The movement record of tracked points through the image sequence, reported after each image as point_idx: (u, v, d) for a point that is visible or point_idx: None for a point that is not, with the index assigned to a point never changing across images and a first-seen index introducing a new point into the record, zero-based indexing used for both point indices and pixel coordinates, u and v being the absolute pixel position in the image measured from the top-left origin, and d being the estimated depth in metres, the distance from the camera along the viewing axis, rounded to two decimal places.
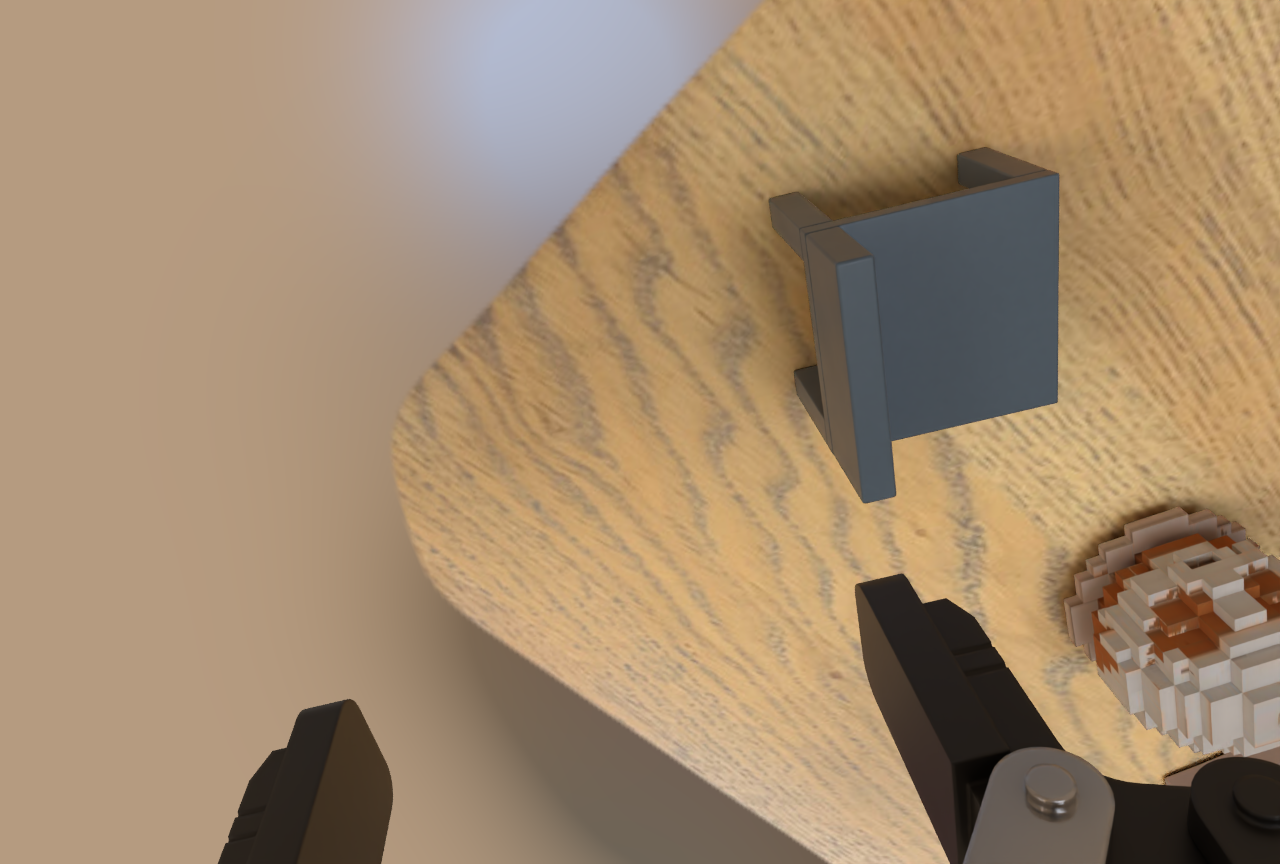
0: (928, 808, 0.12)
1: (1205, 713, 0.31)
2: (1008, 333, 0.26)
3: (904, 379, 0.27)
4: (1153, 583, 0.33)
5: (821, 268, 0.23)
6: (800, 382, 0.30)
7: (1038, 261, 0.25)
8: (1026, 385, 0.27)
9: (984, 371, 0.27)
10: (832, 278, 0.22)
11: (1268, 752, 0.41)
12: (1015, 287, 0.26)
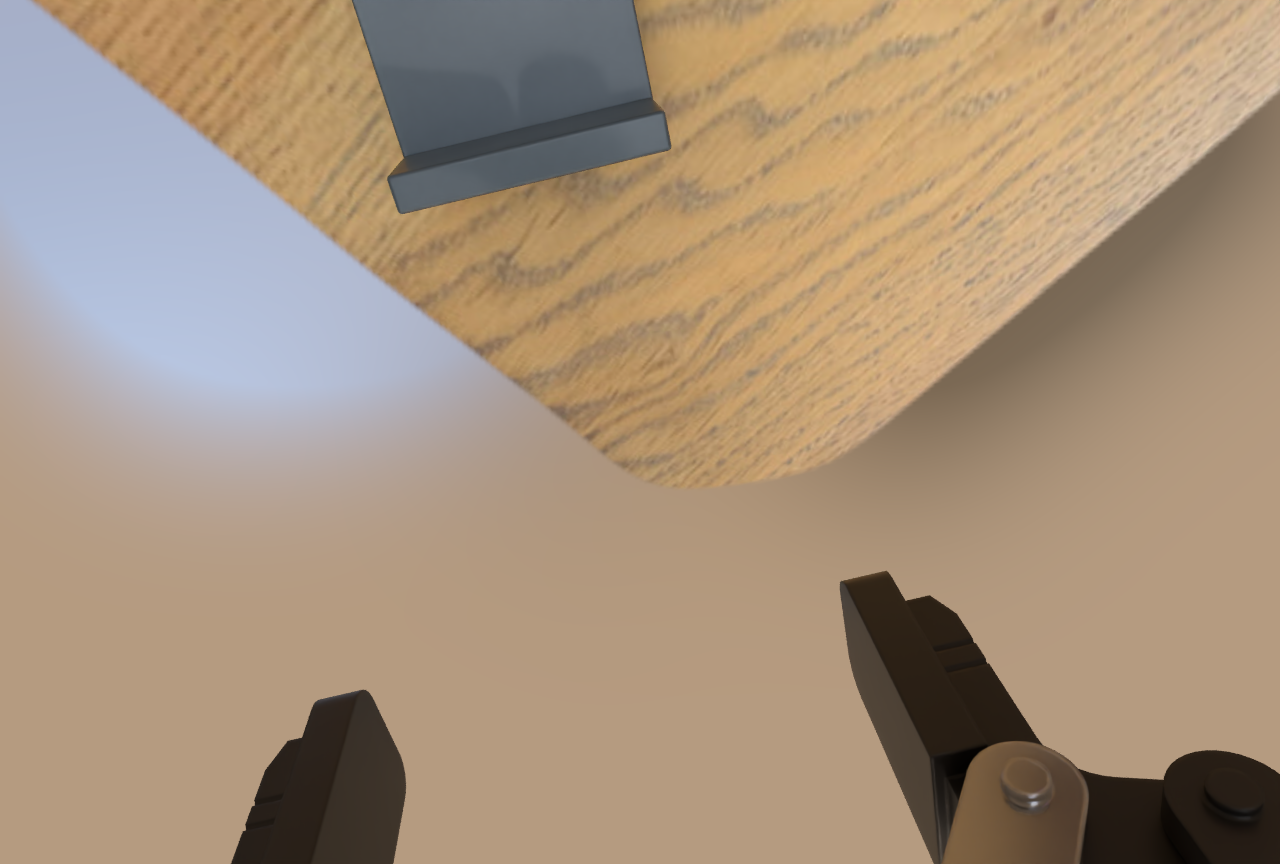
0: (910, 803, 0.12)
1: None
2: None
3: (568, 58, 0.24)
4: None
5: None
6: None
7: None
8: None
9: None
10: None
11: None
12: None
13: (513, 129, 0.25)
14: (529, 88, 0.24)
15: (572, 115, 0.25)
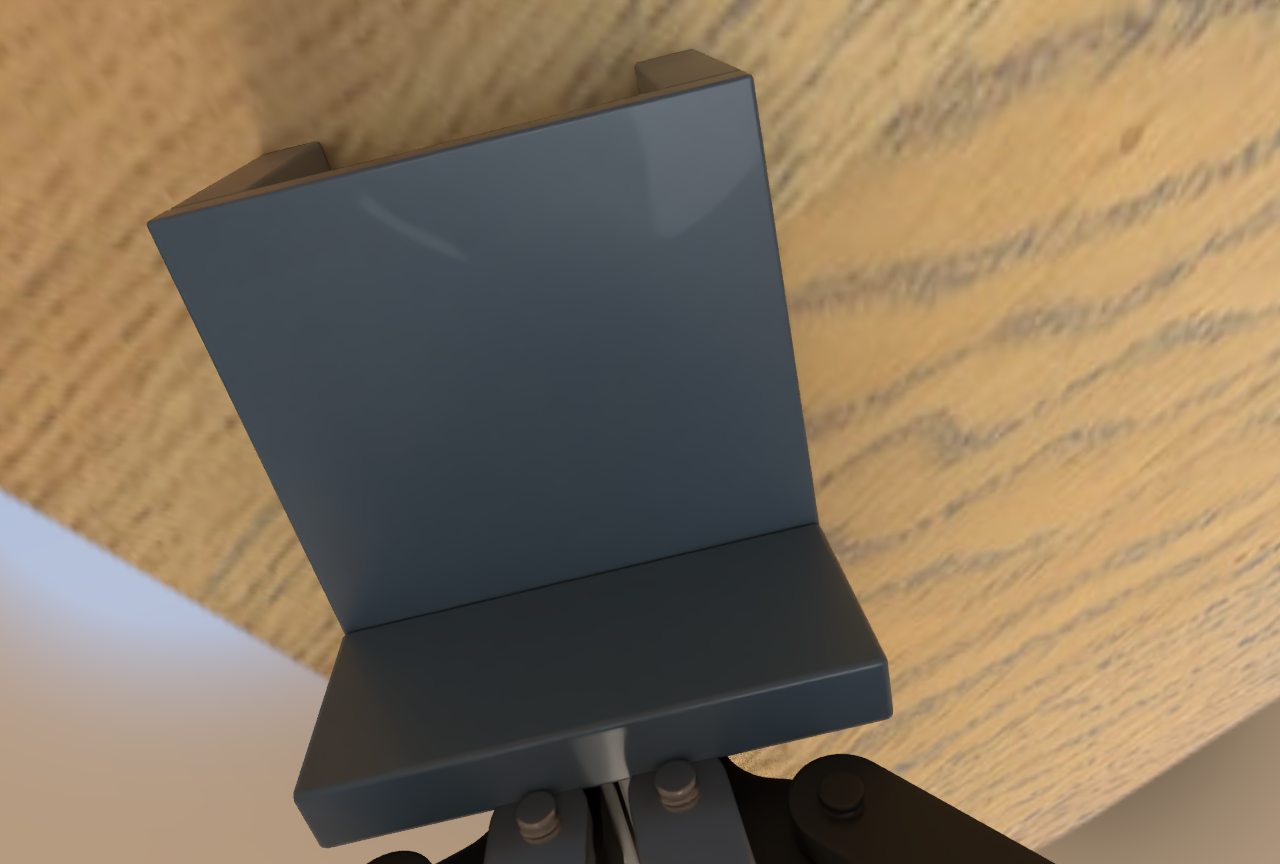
0: None
1: None
2: (552, 259, 0.11)
3: (663, 467, 0.12)
4: None
5: None
6: None
7: (364, 225, 0.10)
8: (694, 179, 0.10)
9: (650, 296, 0.11)
10: None
11: None
12: (435, 267, 0.11)
13: (552, 581, 0.13)
14: (584, 517, 0.12)
15: (665, 556, 0.13)
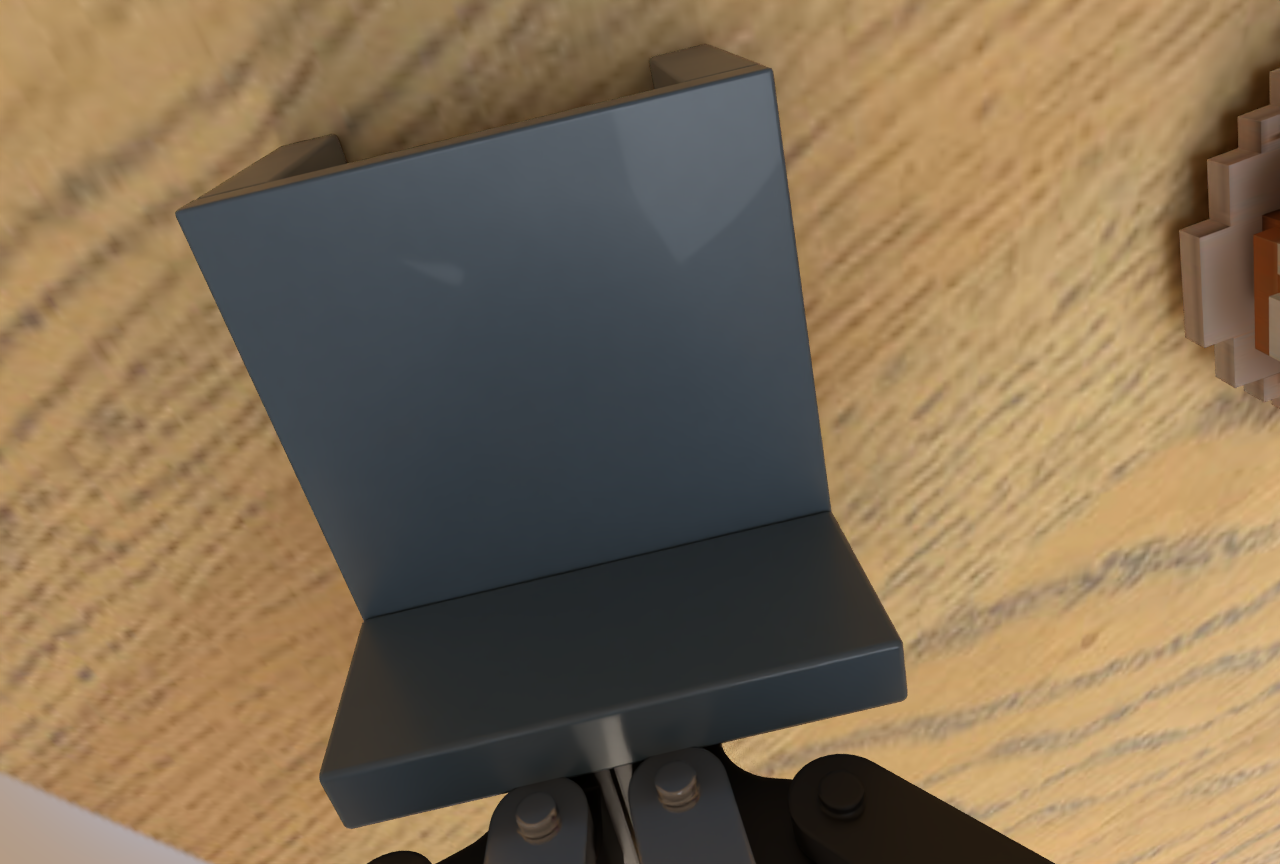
0: None
1: None
2: (573, 249, 0.11)
3: (679, 455, 0.12)
4: None
5: None
6: None
7: (389, 215, 0.11)
8: (714, 171, 0.11)
9: (668, 285, 0.11)
10: None
11: None
12: (457, 257, 0.11)
13: (568, 568, 0.13)
14: (601, 505, 0.13)
15: (680, 543, 0.13)
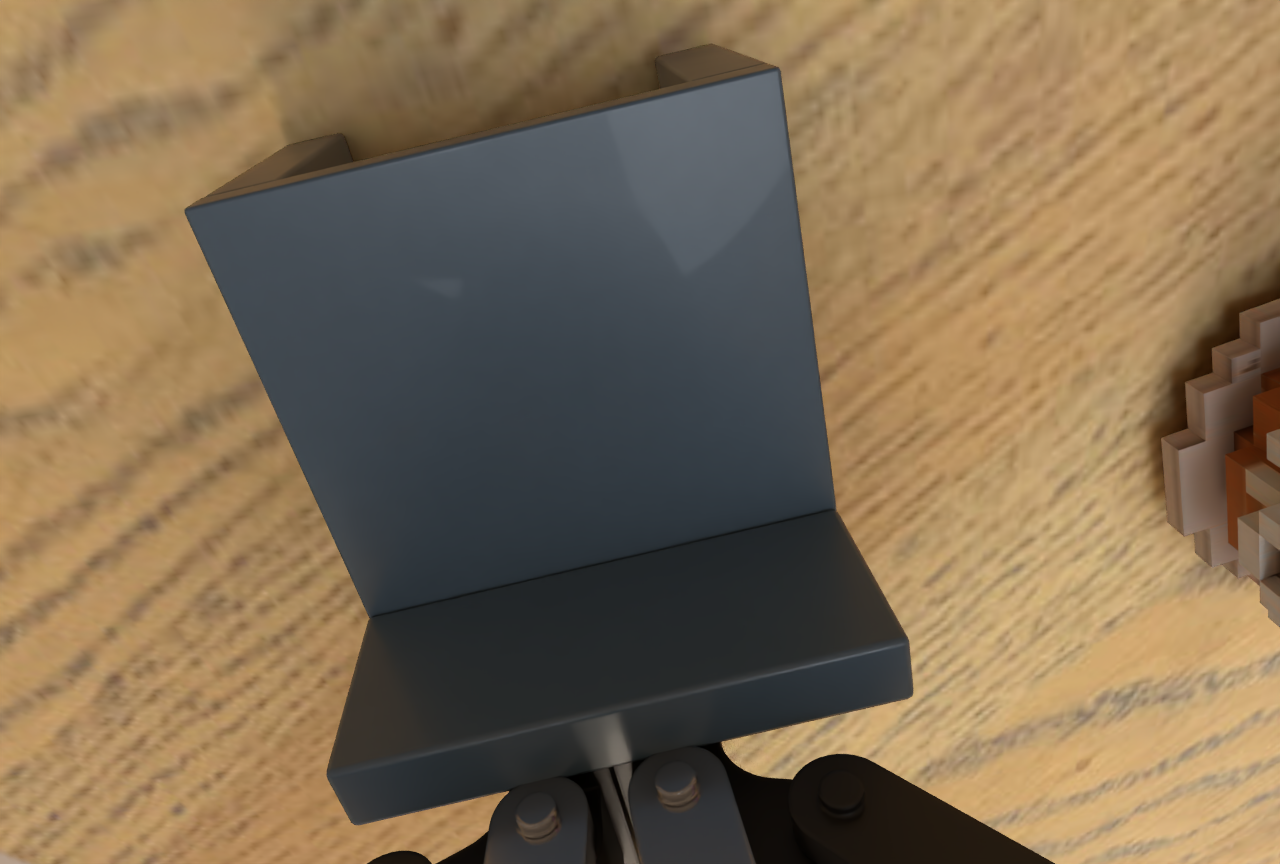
0: None
1: None
2: (581, 247, 0.11)
3: (686, 453, 0.12)
4: None
5: None
6: None
7: (398, 213, 0.11)
8: (721, 170, 0.11)
9: (675, 284, 0.11)
10: None
11: None
12: (465, 255, 0.11)
13: (574, 566, 0.13)
14: (607, 503, 0.13)
15: (686, 542, 0.13)
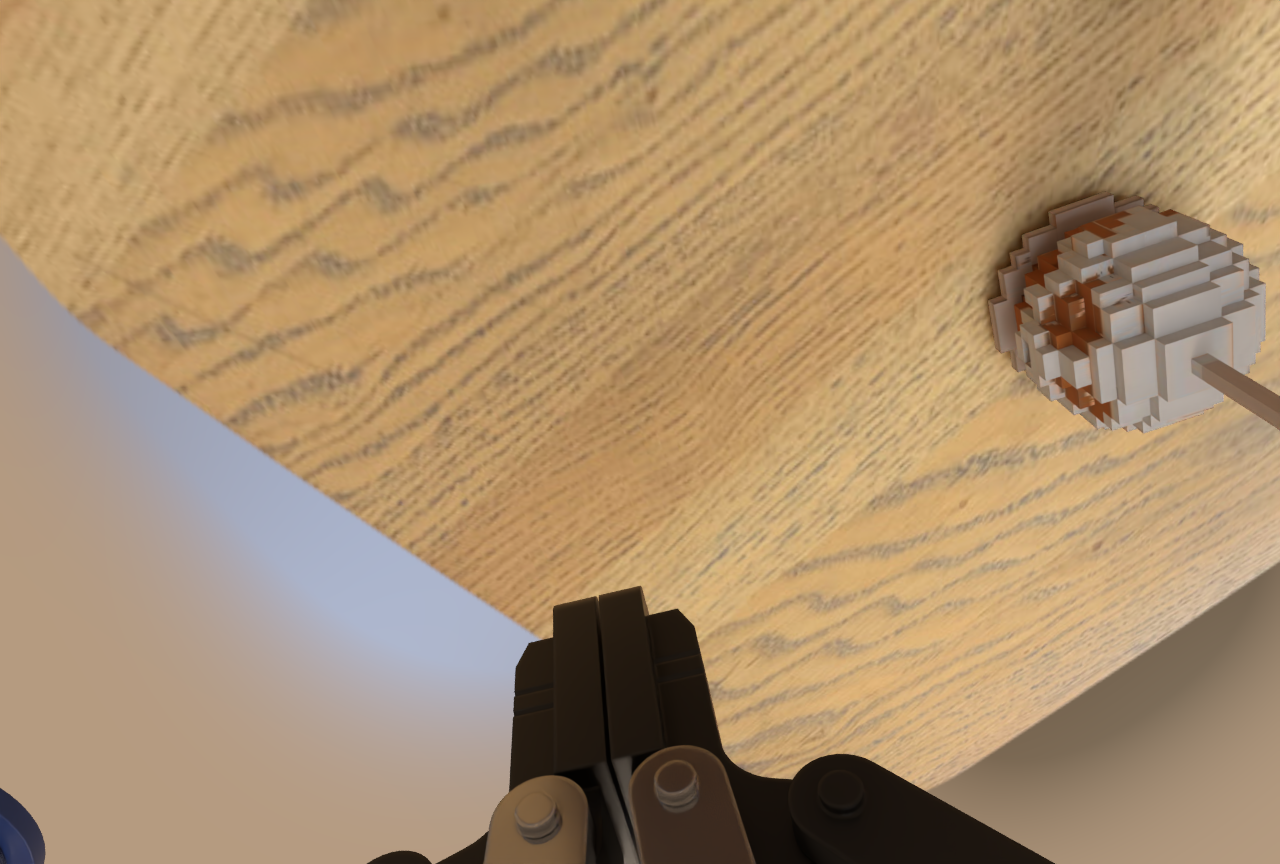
0: None
1: None
2: None
3: None
4: None
5: None
6: None
7: None
8: None
9: None
10: None
11: None
12: None
13: None
14: None
15: None
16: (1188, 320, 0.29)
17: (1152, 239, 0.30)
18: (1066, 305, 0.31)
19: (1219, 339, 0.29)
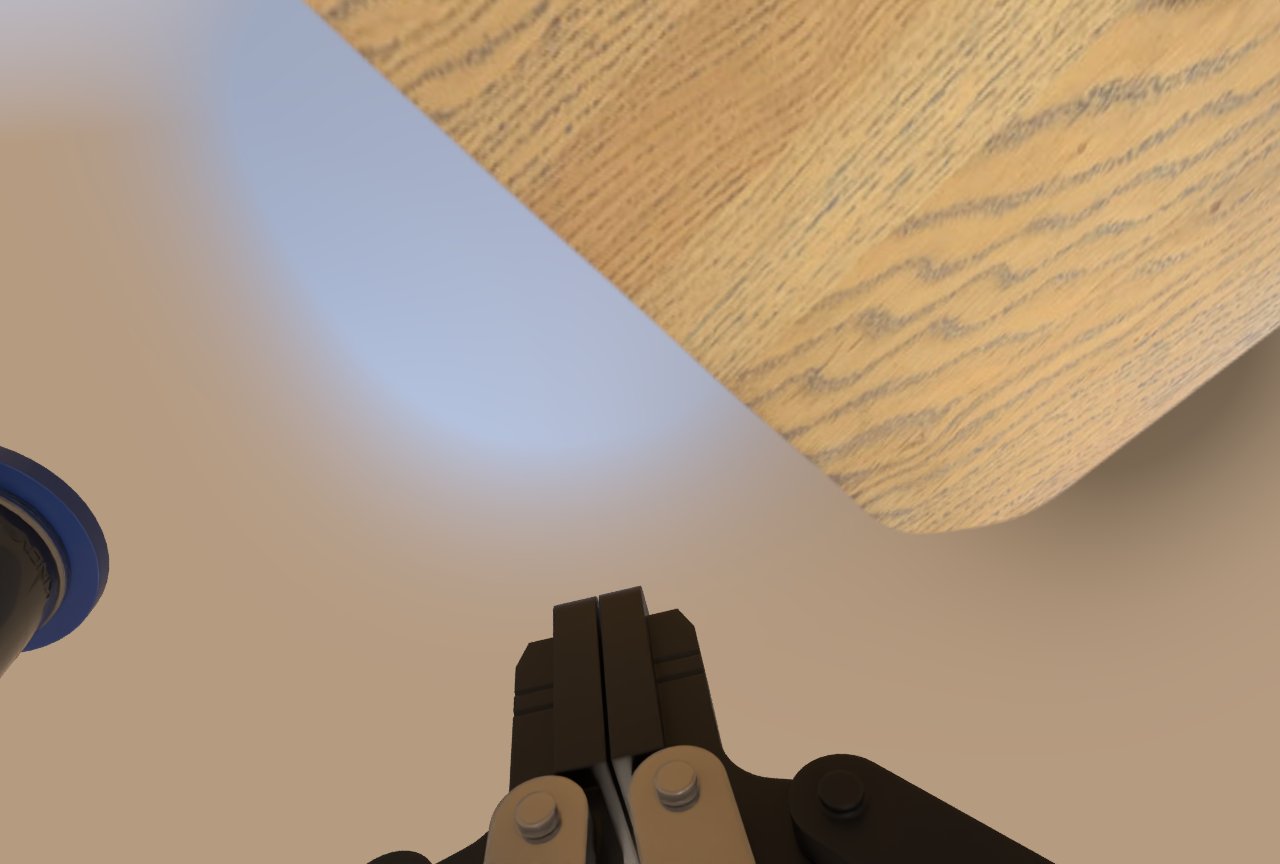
0: None
1: None
2: None
3: None
4: None
5: None
6: None
7: None
8: None
9: None
10: None
11: None
12: None
13: None
14: None
15: None
16: None
17: None
18: None
19: None
